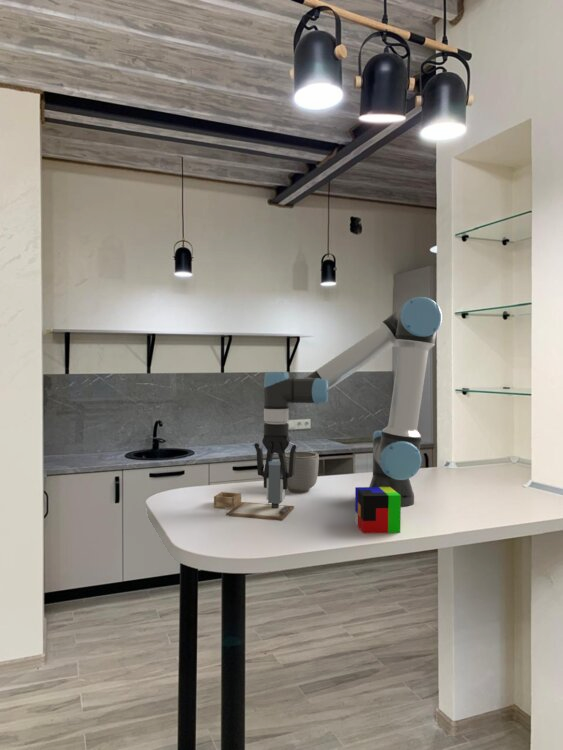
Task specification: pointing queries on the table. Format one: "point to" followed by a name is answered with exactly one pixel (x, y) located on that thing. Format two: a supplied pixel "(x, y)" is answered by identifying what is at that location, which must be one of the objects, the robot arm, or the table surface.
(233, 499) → the holder
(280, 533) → the table surface
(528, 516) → the table surface
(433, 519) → the table surface
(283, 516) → the clipboard
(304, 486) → the planter
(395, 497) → the puzzle toy
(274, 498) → the blue-grey tall block
